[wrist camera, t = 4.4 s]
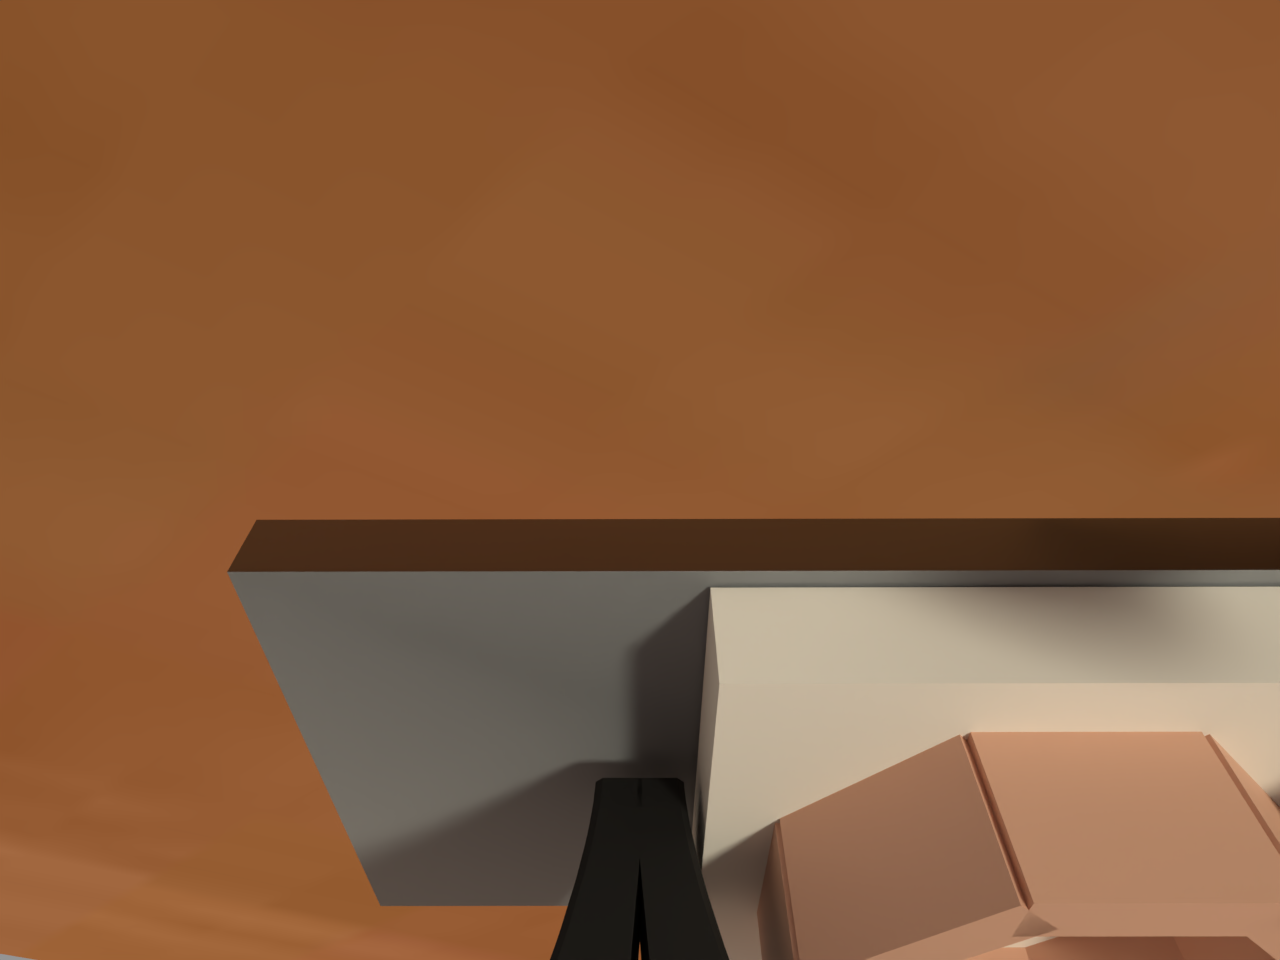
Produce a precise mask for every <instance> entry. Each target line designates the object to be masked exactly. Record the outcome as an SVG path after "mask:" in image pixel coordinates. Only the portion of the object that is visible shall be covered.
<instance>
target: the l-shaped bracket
mask: <svg viewBox="0 0 1280 960" xmlns="http://www.w3.org/2000/svg"><path fill="white" fill-rule="evenodd" d="M227 573H228V575H229V577H230V579H231V582H232V584H233V586H234V588H235V590H236V592H237V595H238V597H239V599H240V601H241V603H242V605H243V608H244V610H245V612H246V614H247V616H248V619H249V621H250V623H251V625H252V627H253V629H254V632H255V634H256V636H257V638H258V640H259V643H260V645H261V647H262V649H263V651H264V653H265V656H266V658H267V660H268V662H269V664H270V666H271V669H272V671H273V673H274V675H275V677H276V680H277V682H278V684H279V686H280V688H281V690H282V693H283V695H284V697H285V699H286V701H287V703H288V706H289V708H290V710H291V712H292V714H293V717H294V719H295V721H296V723H297V725H298V727H299V730H300V732H301V734H302V736H303V738H304V740H305V743H306V745H307V747H308V749H309V751H310V754H311V756H312V758H313V760H314V762H315V764H316V767H317V769H318V771H319V773H320V775H321V778H322V780H323V782H324V784H325V786H326V788H327V791H328V793H329V795H330V797H331V799H332V801H333V804H334V806H335V808H336V810H337V812H338V815H339V817H340V819H341V821H342V823H343V825H344V828H345V830H346V832H347V834H348V836H349V838H350V841H351V843H352V845H353V847H354V849H355V852H356V854H357V856H358V858H359V860H360V862H361V865H362V867H363V869H364V871H365V873H366V875H367V878H368V880H369V882H370V884H371V886H372V889H373V891H374V893H375V895H376V897H377V899H378V902H379V904H380V906H568V903H569V900H570V897H571V893H572V890H573V887H574V884H575V880H576V877H577V873H578V869H579V866H580V862H581V858H582V854H583V850H584V846H585V842H586V838H587V833H588V828H589V824H590V818H591V813H592V807H593V801H594V793H595V784H596V781H598V780H600V779H602V778H678V779H680V780H681V781H683V782H684V789H685V797H686V804H687V810H688V816H689V821H690V826H691V831H692V825H693V812H694V799H695V786H696V772H697V759H698V746H699V733H700V719H701V706H702V693H703V680H704V666H705V653H706V640H707V627H708V613H709V600H710V588H759V587H1280V518H898V519H377V520H256V522H255V523H254V525H253V527H252V529H251V530H250V532H249V534H248V536H247V538H246V539H245V541H244V543H243V545H242V546H241V548H240V550H239V552H238V553H237V555H236V557H235V559H234V561H233V562H232V564H231V566H230V568H229V569H228V571H227Z"/></svg>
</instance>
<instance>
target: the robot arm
mask: <svg viewBox="0 0 1280 960" xmlns="http://www.w3.org/2000/svg"><path fill="white" fill-rule="evenodd" d="M639 945H640V951H641V960H729V957H728V954H727V951H726V949H725V946H724V943H723V940H722V937H721V933H720V930H719V927H718V924H717V921H716V918H715V915H714V912H713V909H712V906H711V903H710V899H709V896H708V893H707V889H706V886H705V882H704V879H703V875H702V871H701V868H700V864H699V860H698V856H697V852H696V848H695V844H694V840H693V835H692V831H691V826H690V821H689V816H688V810H687V804H686V797H685V789H684V782H683V781H681V780H680V779H678V778H602V779H600V780H598V781H596V784H595V793H594V801H593V807H592V813H591V818H590V824H589V828H588V833H587V838H586V842H585V846H584V850H583V854H582V858H581V862H580V866H579V869H578V873H577V877H576V880H575V884H574V887H573V890H572V893H571V897H570V900H569V903H568V906H567V910H566V913H565V916H564V919H563V923H562V926H561V929H560V932H559V935H558V938H557V941H556V944H555V947H554V950H553V952H552V955H551V958H550V960H638V958H639Z"/></svg>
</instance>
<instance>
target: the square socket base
mask: <svg viewBox="0 0 1280 960" xmlns="http://www.w3.org/2000/svg"><path fill="white" fill-rule="evenodd" d="M692 835H693V840H694V844H695V848H696V852H697V856H698V860H699V864H700V868H701V871H702V875H703V879H704V882H705V886H706V889H707V893H708V896H709V899H710V903H711V906H712V909H713V912H714V915H715V918H716V921H717V924H718V927H719V930H720V933H721V937H722V940H723V943H724V946H725V949H726V951H727V954H728V957H729V960H1280V587H759V588H710V600H709V613H708V627H707V640H706V653H705V666H704V680H703V693H702V706H701V719H700V733H699V746H698V759H697V772H696V786H695V799H694V812H693V825H692Z"/></svg>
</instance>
